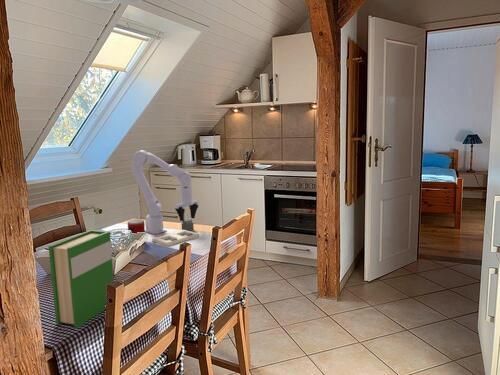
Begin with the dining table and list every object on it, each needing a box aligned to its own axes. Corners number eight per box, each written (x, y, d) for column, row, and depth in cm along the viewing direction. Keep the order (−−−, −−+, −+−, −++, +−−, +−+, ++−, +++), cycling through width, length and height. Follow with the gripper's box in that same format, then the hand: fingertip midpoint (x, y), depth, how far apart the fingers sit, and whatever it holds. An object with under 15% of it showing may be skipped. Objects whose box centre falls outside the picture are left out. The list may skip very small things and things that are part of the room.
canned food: (147, 240, 201) (146, 219, 199) (141, 245, 193) (140, 223, 192) (132, 240, 202) (131, 218, 200) (126, 245, 194) (124, 222, 192)
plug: (181, 230, 218) (181, 220, 217) (188, 229, 221) (187, 218, 220) (187, 232, 215) (186, 221, 214) (193, 230, 219) (193, 219, 218)
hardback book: (76, 328, 117) (69, 248, 113) (56, 324, 119) (48, 246, 115) (115, 302, 133) (109, 231, 129) (96, 299, 135) (90, 229, 131)
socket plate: (152, 241, 200) (152, 237, 199) (183, 232, 214) (183, 228, 214) (167, 246, 192) (167, 241, 191) (199, 236, 207) (198, 232, 206)
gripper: (180, 197, 207) (181, 223, 209) (201, 193, 218) (202, 217, 220) (171, 196, 212) (173, 221, 214) (192, 192, 222) (193, 216, 225)
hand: (187, 219), depth 217 cm, fingers open, 7 cm apart
